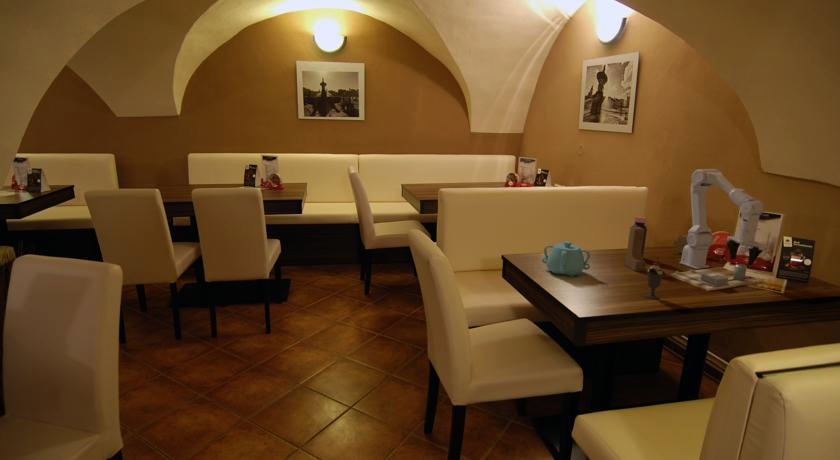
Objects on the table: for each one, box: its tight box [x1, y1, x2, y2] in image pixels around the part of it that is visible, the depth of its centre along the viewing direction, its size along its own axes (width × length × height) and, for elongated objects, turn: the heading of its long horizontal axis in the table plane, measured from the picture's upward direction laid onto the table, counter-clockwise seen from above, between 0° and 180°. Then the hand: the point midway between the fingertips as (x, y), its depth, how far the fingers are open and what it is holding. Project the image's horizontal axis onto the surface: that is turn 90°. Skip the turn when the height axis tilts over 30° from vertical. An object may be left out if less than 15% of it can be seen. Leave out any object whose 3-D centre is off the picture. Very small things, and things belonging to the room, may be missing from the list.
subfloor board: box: [670, 266, 761, 292], centre depth 203 cm, size 18×30×2 cm, turn 111°
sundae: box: [644, 257, 666, 300], centre depth 180 cm, size 7×7×15 cm
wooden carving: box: [671, 234, 710, 254], centre depth 236 cm, size 16×5×10 cm, turn 56°
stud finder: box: [701, 273, 728, 287], centre depth 195 cm, size 7×6×4 cm
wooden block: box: [624, 226, 647, 272], centre depth 213 cm, size 9×4×18 cm, turn 5°
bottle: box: [631, 215, 648, 259], centre depth 228 cm, size 7×7×20 cm
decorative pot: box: [541, 240, 591, 278], centre depth 206 cm, size 16×16×14 cm
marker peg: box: [733, 263, 748, 281], centre depth 200 cm, size 4×4×6 cm
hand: (741, 261), depth 199 cm, fingers open, 7 cm apart
